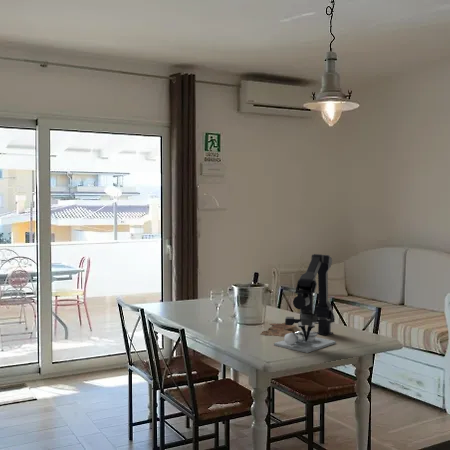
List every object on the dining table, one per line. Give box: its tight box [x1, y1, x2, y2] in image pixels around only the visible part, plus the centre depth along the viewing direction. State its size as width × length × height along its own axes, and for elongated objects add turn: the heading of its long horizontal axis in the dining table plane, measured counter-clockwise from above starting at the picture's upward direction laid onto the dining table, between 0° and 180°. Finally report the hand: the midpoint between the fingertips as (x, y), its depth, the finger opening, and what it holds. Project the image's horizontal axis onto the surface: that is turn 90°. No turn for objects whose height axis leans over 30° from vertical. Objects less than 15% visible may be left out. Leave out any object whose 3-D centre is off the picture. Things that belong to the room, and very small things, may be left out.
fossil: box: [260, 322, 301, 338], centre depth 276 cm, size 20×16×5 cm
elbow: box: [295, 329, 318, 344], centre depth 254 cm, size 15×8×5 cm, turn 143°
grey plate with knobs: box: [273, 332, 337, 354], centre depth 253 cm, size 23×18×6 cm
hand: (306, 340), depth 247 cm, fingers closed
